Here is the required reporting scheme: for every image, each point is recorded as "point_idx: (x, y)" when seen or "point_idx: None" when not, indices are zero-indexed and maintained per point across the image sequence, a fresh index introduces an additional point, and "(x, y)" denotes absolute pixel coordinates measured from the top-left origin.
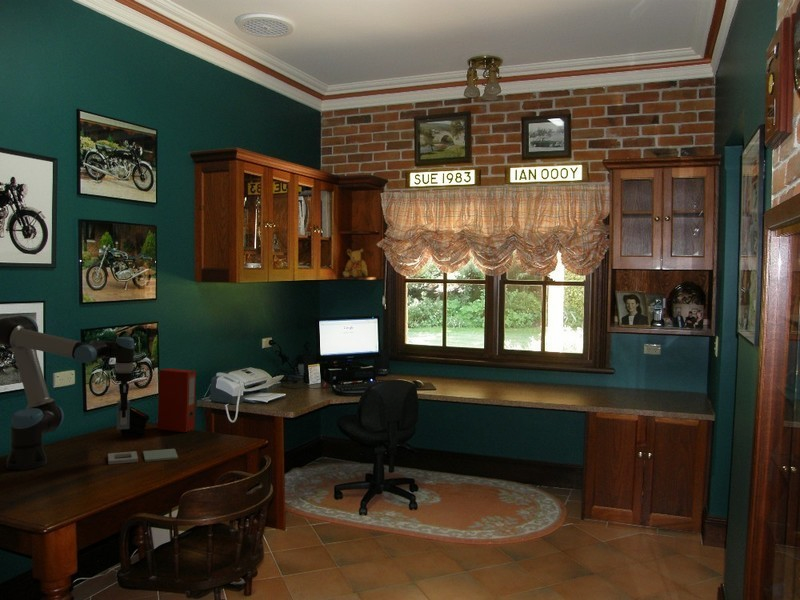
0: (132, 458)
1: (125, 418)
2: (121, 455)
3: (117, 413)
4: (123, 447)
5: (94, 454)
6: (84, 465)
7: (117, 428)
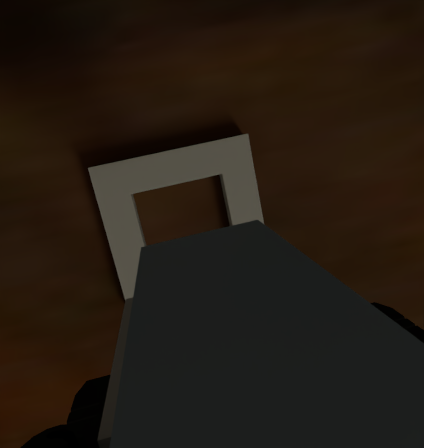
0: (133, 289)
1: None
2: (227, 210)
3: (162, 322)
4: (410, 182)
5: (301, 46)
6: (77, 29)
7: (140, 253)
